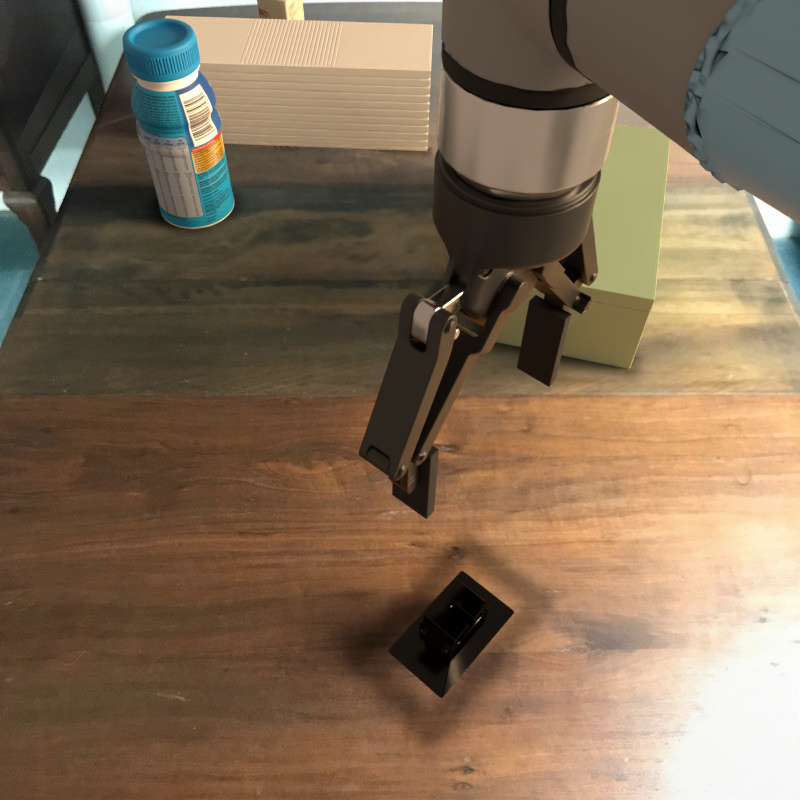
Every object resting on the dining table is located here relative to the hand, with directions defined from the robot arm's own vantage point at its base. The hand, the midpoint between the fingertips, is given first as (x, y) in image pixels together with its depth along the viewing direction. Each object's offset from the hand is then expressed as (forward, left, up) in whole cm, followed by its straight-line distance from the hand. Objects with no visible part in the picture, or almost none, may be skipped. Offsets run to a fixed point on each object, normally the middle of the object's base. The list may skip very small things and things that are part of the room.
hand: (478, 435), depth 52 cm
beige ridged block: (+58, -19, -15) cm, 63 cm away
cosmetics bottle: (+72, -25, -15) cm, 77 cm away
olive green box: (+19, -29, -14) cm, 37 cm away
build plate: (-6, +5, -15) cm, 16 cm away
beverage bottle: (+50, -1, -15) cm, 52 cm away
